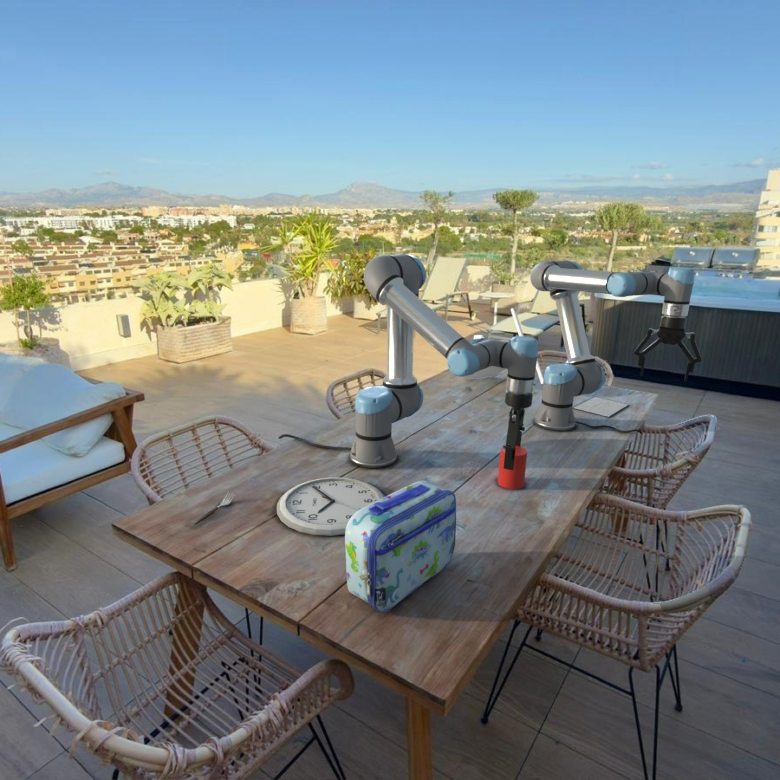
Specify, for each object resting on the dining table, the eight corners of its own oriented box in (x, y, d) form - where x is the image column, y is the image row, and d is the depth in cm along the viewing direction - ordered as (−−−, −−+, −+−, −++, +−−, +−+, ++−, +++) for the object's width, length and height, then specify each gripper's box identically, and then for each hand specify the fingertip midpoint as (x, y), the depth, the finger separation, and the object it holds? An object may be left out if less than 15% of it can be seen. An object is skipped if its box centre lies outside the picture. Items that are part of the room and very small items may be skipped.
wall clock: (392, 527, 129) (268, 531, 127) (391, 533, 130) (269, 537, 127) (383, 473, 158) (282, 475, 155) (383, 478, 158) (282, 480, 156)
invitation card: (608, 416, 214) (573, 407, 224) (608, 416, 214) (573, 408, 224) (628, 404, 229) (594, 396, 238) (628, 405, 229) (594, 397, 238)
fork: (190, 525, 132) (189, 518, 131) (229, 496, 146) (228, 490, 145) (198, 527, 131) (198, 520, 130) (237, 498, 145) (236, 491, 145)
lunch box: (374, 626, 100) (375, 530, 93) (338, 598, 107) (337, 508, 101) (459, 568, 117) (465, 484, 111) (424, 547, 124) (427, 467, 118)
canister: (501, 489, 153) (504, 455, 150) (495, 477, 160) (497, 444, 157) (527, 489, 153) (530, 455, 150) (520, 477, 161) (523, 445, 158)
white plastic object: (480, 421, 262) (459, 398, 238) (462, 347, 285) (440, 320, 260) (552, 397, 250) (537, 370, 226) (527, 322, 272) (511, 290, 248)
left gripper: (527, 406, 136) (519, 480, 142) (537, 381, 158) (529, 445, 165) (498, 402, 138) (491, 474, 145) (512, 378, 161) (505, 441, 167)
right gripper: (631, 314, 174) (622, 375, 180) (718, 321, 163) (705, 386, 169) (633, 311, 180) (624, 370, 187) (717, 318, 169) (705, 381, 175)
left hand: (511, 459), depth 155 cm, fingers open, 13 cm apart
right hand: (662, 378), depth 178 cm, fingers open, 13 cm apart
